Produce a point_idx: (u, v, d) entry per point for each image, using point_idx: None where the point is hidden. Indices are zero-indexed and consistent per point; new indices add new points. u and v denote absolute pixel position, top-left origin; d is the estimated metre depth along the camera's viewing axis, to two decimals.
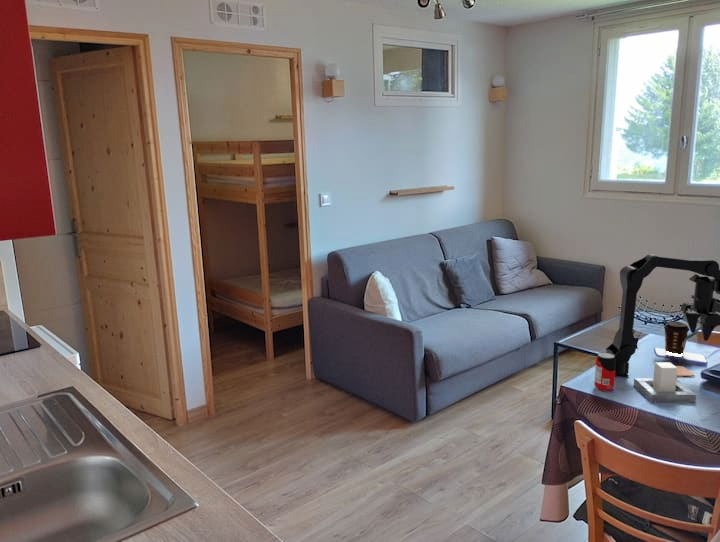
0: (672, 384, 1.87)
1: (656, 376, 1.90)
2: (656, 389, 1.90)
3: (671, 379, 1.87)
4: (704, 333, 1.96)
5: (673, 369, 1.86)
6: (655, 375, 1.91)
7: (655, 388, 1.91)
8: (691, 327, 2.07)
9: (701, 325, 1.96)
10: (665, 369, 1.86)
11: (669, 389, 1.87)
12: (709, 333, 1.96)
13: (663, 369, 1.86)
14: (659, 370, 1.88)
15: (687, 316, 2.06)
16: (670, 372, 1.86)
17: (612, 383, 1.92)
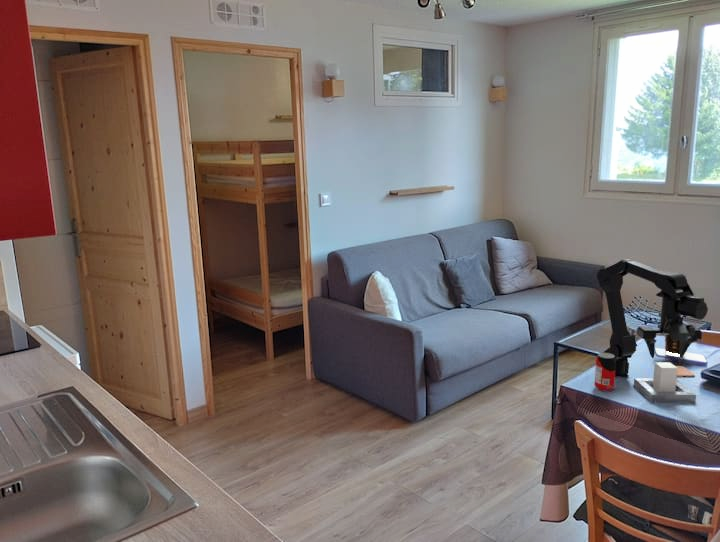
0: (672, 384, 1.87)
1: (656, 376, 1.90)
2: (656, 389, 1.90)
3: (671, 379, 1.87)
4: (648, 348, 1.89)
5: (673, 369, 1.86)
6: (655, 375, 1.91)
7: (655, 388, 1.91)
8: (680, 350, 1.88)
9: None
10: (665, 369, 1.86)
11: (669, 389, 1.87)
12: (650, 349, 1.87)
13: (663, 369, 1.86)
14: (659, 370, 1.88)
15: None
16: (670, 372, 1.86)
17: (612, 383, 1.92)
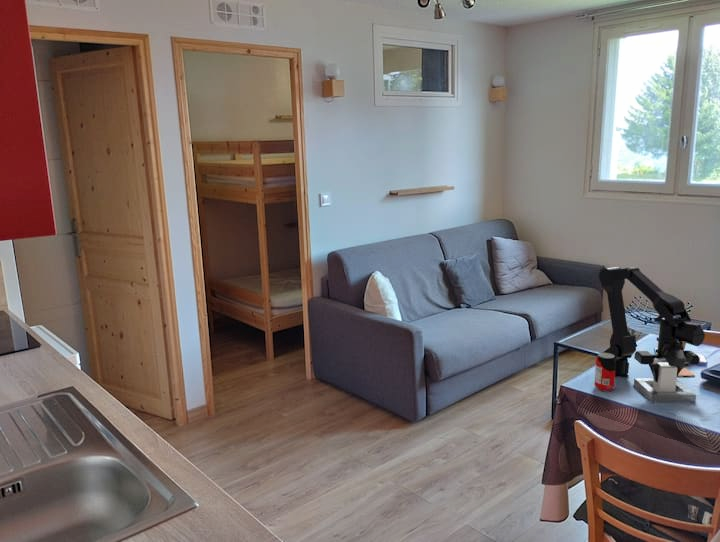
0: (672, 384, 1.87)
1: None
2: (656, 389, 1.90)
3: (671, 379, 1.87)
4: (652, 372, 1.90)
5: (672, 369, 1.86)
6: None
7: (655, 388, 1.91)
8: None
9: None
10: (664, 369, 1.86)
11: (669, 389, 1.87)
12: (654, 374, 1.89)
13: (663, 369, 1.86)
14: (659, 370, 1.88)
15: None
16: (670, 372, 1.86)
17: (612, 383, 1.92)
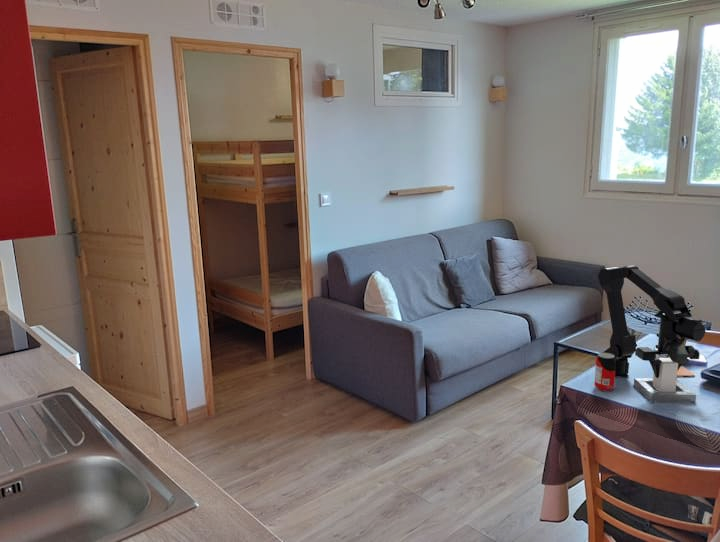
0: (673, 379, 1.87)
1: None
2: (657, 385, 1.89)
3: (672, 374, 1.86)
4: (652, 368, 1.90)
5: (673, 365, 1.86)
6: None
7: (656, 384, 1.90)
8: None
9: None
10: (666, 364, 1.86)
11: (670, 384, 1.87)
12: (655, 370, 1.88)
13: (664, 365, 1.86)
14: (660, 365, 1.87)
15: None
16: (671, 368, 1.86)
17: (612, 383, 1.92)
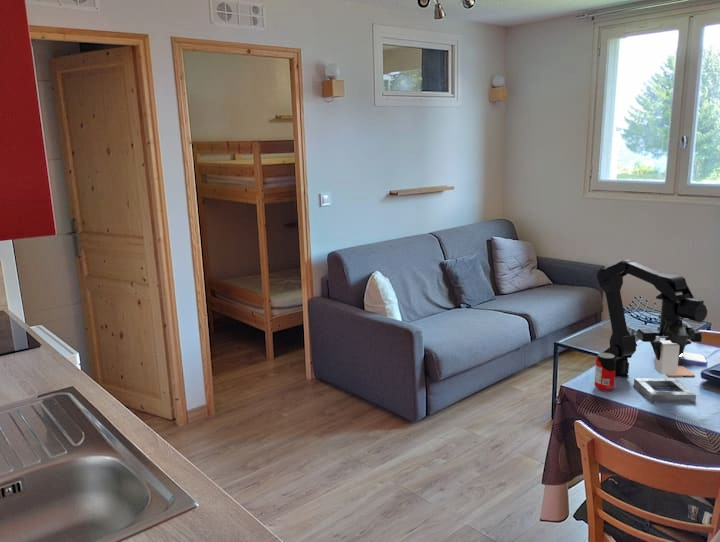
0: (674, 361, 1.85)
1: None
2: (658, 367, 1.88)
3: (674, 357, 1.85)
4: (654, 350, 1.89)
5: (675, 347, 1.84)
6: None
7: (657, 366, 1.89)
8: None
9: None
10: (667, 346, 1.84)
11: (671, 367, 1.86)
12: (656, 352, 1.87)
13: (665, 347, 1.84)
14: (661, 347, 1.86)
15: None
16: (672, 350, 1.85)
17: (612, 383, 1.92)
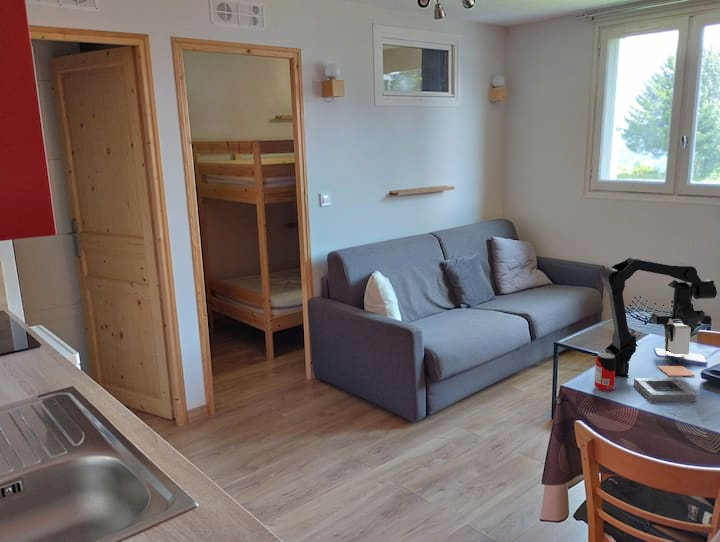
0: (686, 342, 2.02)
1: None
2: (671, 348, 2.05)
3: (685, 338, 2.02)
4: (667, 332, 2.06)
5: (686, 329, 2.01)
6: None
7: (670, 347, 2.06)
8: None
9: None
10: (679, 328, 2.01)
11: (683, 347, 2.03)
12: (669, 333, 2.04)
13: (677, 329, 2.01)
14: (674, 330, 2.03)
15: None
16: (684, 332, 2.01)
17: (612, 383, 1.92)
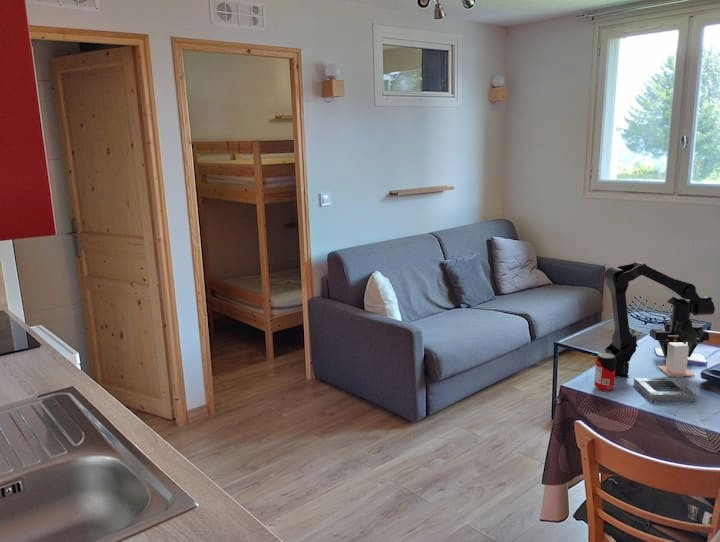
0: (684, 361, 2.04)
1: (669, 355, 2.07)
2: (669, 367, 2.07)
3: (683, 357, 2.04)
4: None
5: (684, 348, 2.03)
6: (668, 354, 2.08)
7: (668, 366, 2.08)
8: (688, 351, 2.07)
9: None
10: (677, 348, 2.04)
11: (681, 366, 2.05)
12: (663, 349, 2.06)
13: (676, 348, 2.04)
14: (672, 349, 2.05)
15: None
16: (682, 351, 2.04)
17: (612, 383, 1.92)
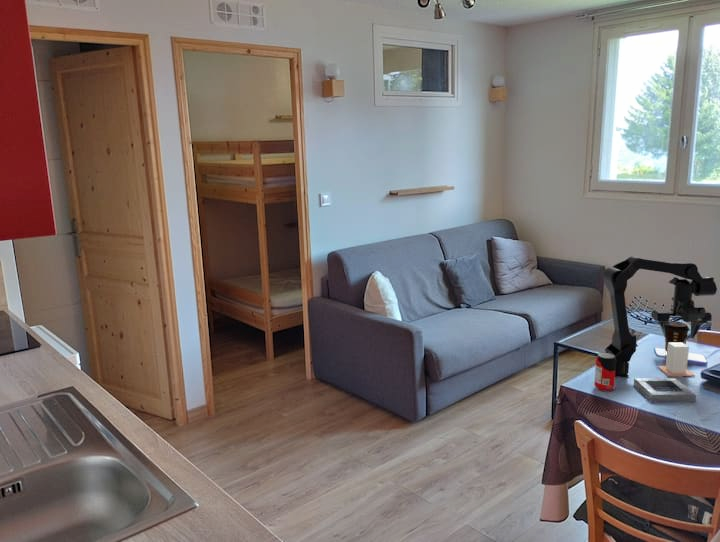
0: (684, 361, 2.04)
1: (669, 355, 2.07)
2: (669, 367, 2.07)
3: (683, 357, 2.04)
4: (662, 329, 2.06)
5: (684, 348, 2.03)
6: (668, 354, 2.08)
7: (668, 366, 2.08)
8: (691, 332, 2.06)
9: None
10: (677, 348, 2.04)
11: (681, 366, 2.05)
12: (664, 330, 2.05)
13: (676, 348, 2.04)
14: (672, 349, 2.05)
15: None
16: (682, 351, 2.04)
17: (612, 383, 1.92)
